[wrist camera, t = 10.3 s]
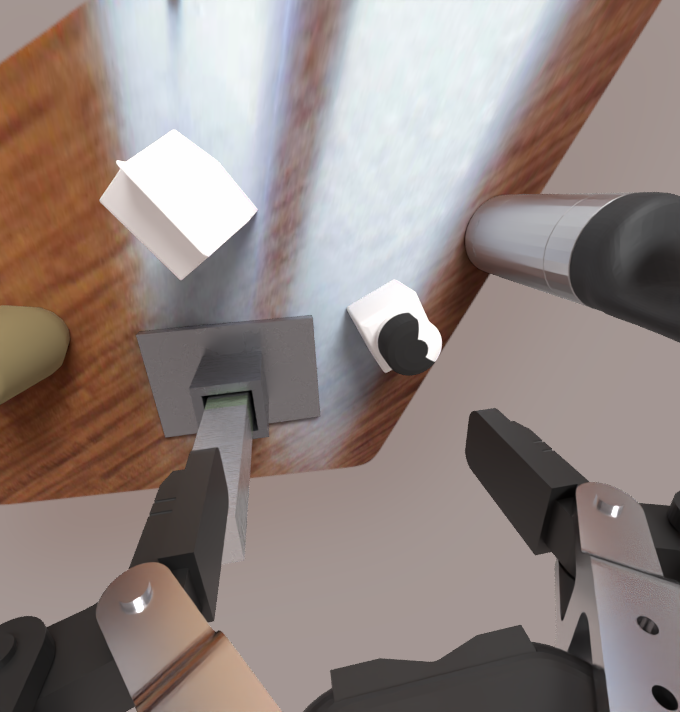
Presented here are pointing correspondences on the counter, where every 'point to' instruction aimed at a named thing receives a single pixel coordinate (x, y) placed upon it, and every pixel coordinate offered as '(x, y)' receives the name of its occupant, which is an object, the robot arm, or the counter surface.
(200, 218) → the milk
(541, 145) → the counter surface
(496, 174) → the counter surface
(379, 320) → the medicine bottle
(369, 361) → the counter surface
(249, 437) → the column
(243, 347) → the stand
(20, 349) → the squeeze bottle
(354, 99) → the counter surface
